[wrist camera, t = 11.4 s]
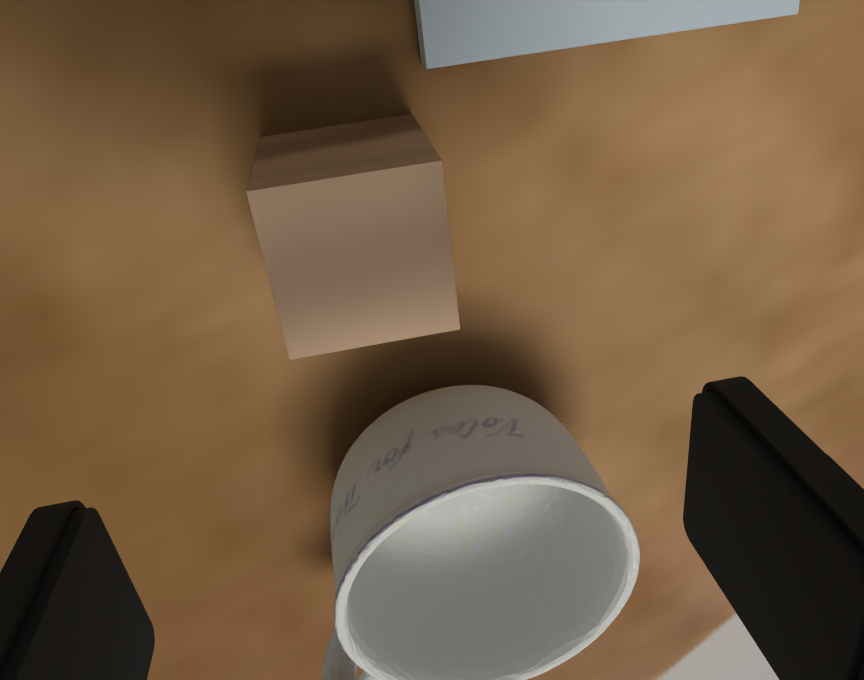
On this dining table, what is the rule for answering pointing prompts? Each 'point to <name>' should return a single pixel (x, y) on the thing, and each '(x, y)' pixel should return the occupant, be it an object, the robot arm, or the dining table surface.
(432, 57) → the plate
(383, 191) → the block top
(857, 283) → the dining table surface
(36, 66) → the dining table surface
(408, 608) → the teacup
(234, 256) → the dining table surface
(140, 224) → the dining table surface
